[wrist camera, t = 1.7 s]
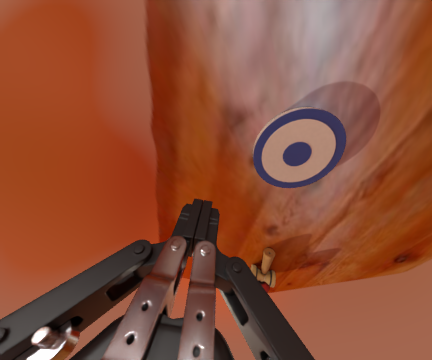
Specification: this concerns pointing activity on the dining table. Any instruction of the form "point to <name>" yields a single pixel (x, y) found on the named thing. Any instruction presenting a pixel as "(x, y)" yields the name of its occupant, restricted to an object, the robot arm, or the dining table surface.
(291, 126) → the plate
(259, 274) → the kendama
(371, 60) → the dining table surface
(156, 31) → the dining table surface
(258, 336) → the robot arm
